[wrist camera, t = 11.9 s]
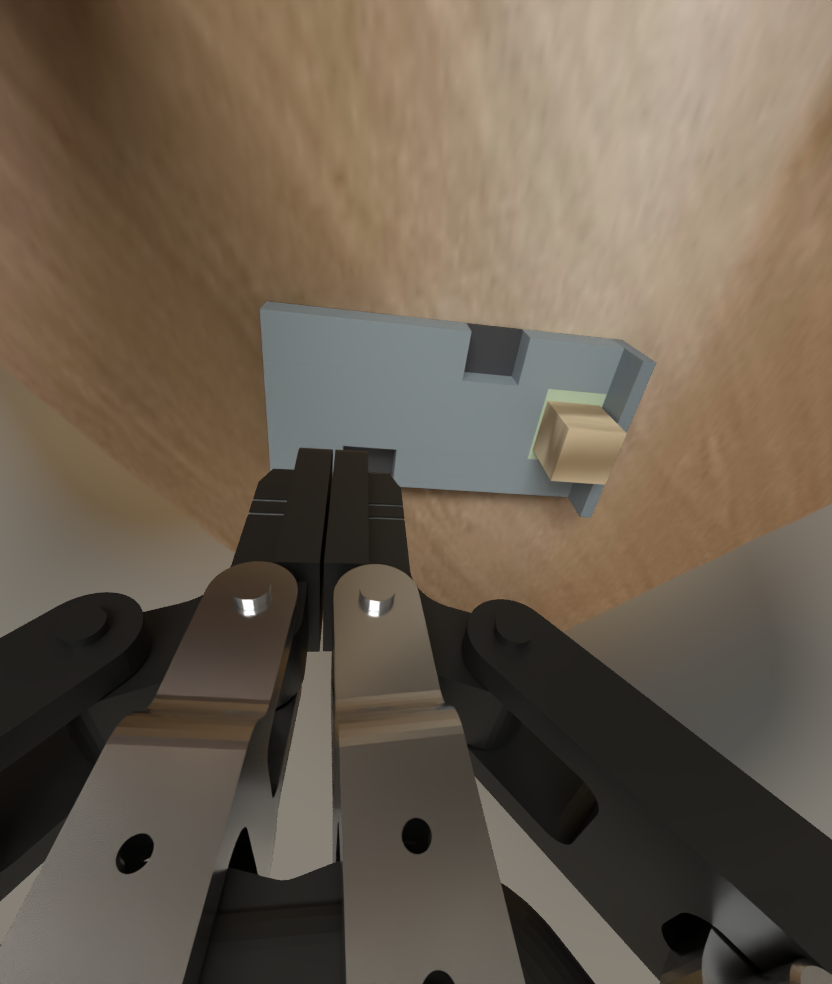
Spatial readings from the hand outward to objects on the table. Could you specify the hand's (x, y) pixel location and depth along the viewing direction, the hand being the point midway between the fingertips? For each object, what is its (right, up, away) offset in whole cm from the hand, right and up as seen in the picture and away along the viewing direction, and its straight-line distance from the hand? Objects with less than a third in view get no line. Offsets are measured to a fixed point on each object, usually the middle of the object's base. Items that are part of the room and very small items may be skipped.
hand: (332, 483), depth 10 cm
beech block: (+15, +5, +28) cm, 32 cm away
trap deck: (+4, +7, +29) cm, 30 cm away
